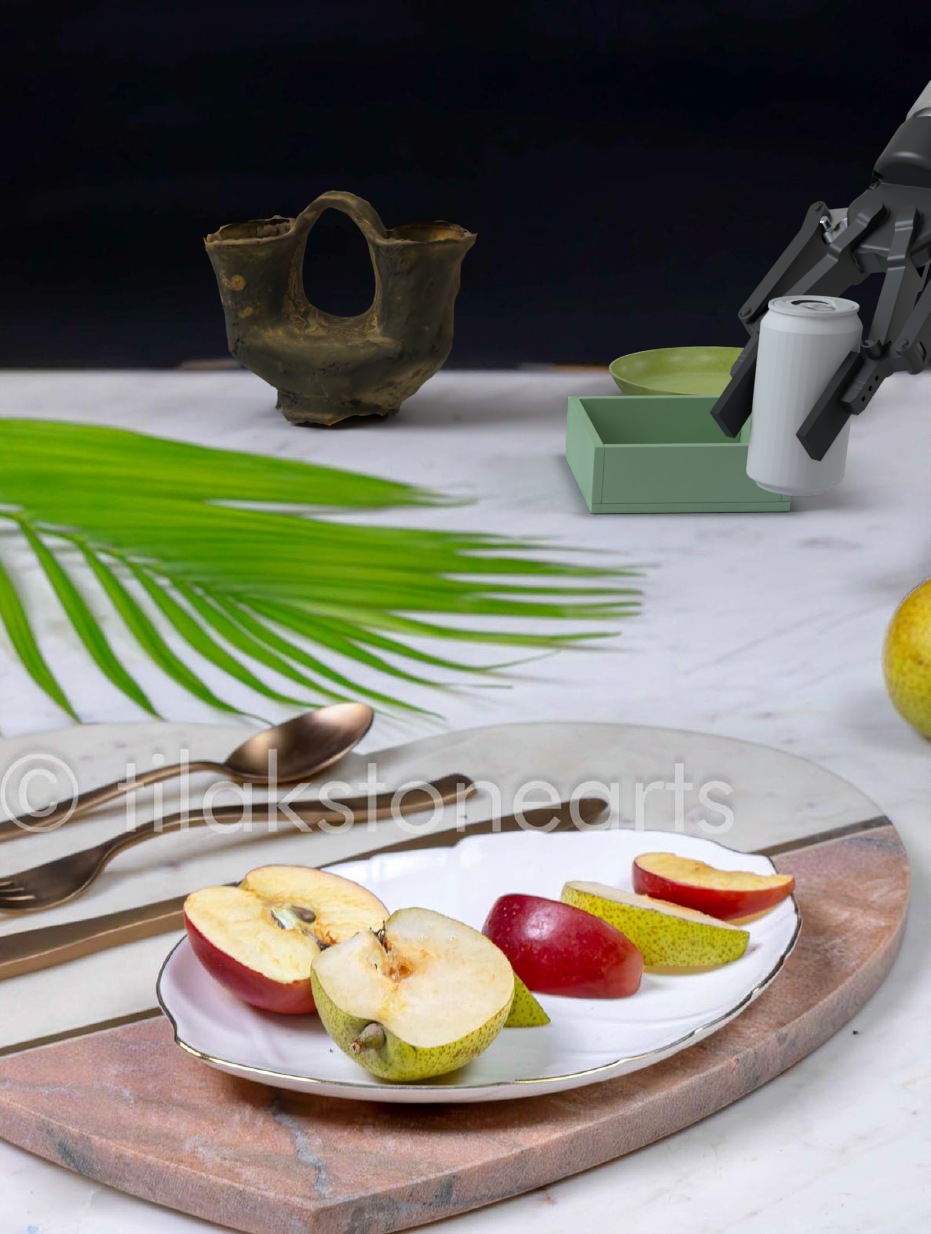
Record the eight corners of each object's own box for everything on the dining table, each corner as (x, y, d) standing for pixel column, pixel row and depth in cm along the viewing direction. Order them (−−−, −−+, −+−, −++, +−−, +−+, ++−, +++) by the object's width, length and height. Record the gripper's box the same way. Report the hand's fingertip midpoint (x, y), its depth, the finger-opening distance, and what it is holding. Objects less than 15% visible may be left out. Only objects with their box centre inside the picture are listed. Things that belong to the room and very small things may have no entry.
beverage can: (820, 469, 117) (842, 290, 112) (858, 496, 111) (882, 309, 106) (731, 473, 116) (748, 294, 111) (764, 501, 110) (784, 313, 105)
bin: (745, 455, 146) (751, 394, 144) (789, 511, 132) (797, 445, 130) (565, 457, 146) (568, 396, 144) (590, 513, 132) (594, 447, 130)
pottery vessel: (483, 409, 160) (489, 188, 151) (460, 440, 151) (466, 206, 142) (230, 394, 166) (222, 179, 157) (194, 422, 156) (182, 196, 147)
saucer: (861, 396, 164) (865, 362, 163) (769, 443, 150) (773, 407, 148) (669, 366, 175) (672, 335, 174) (566, 408, 161) (568, 374, 159)
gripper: (1102, 205, 107) (909, 503, 106) (851, 175, 121) (677, 439, 119) (1071, 121, 102) (867, 433, 101) (812, 99, 116) (629, 374, 114)
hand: (764, 436), depth 110 cm, fingers closed on beverage can, 6 cm apart
